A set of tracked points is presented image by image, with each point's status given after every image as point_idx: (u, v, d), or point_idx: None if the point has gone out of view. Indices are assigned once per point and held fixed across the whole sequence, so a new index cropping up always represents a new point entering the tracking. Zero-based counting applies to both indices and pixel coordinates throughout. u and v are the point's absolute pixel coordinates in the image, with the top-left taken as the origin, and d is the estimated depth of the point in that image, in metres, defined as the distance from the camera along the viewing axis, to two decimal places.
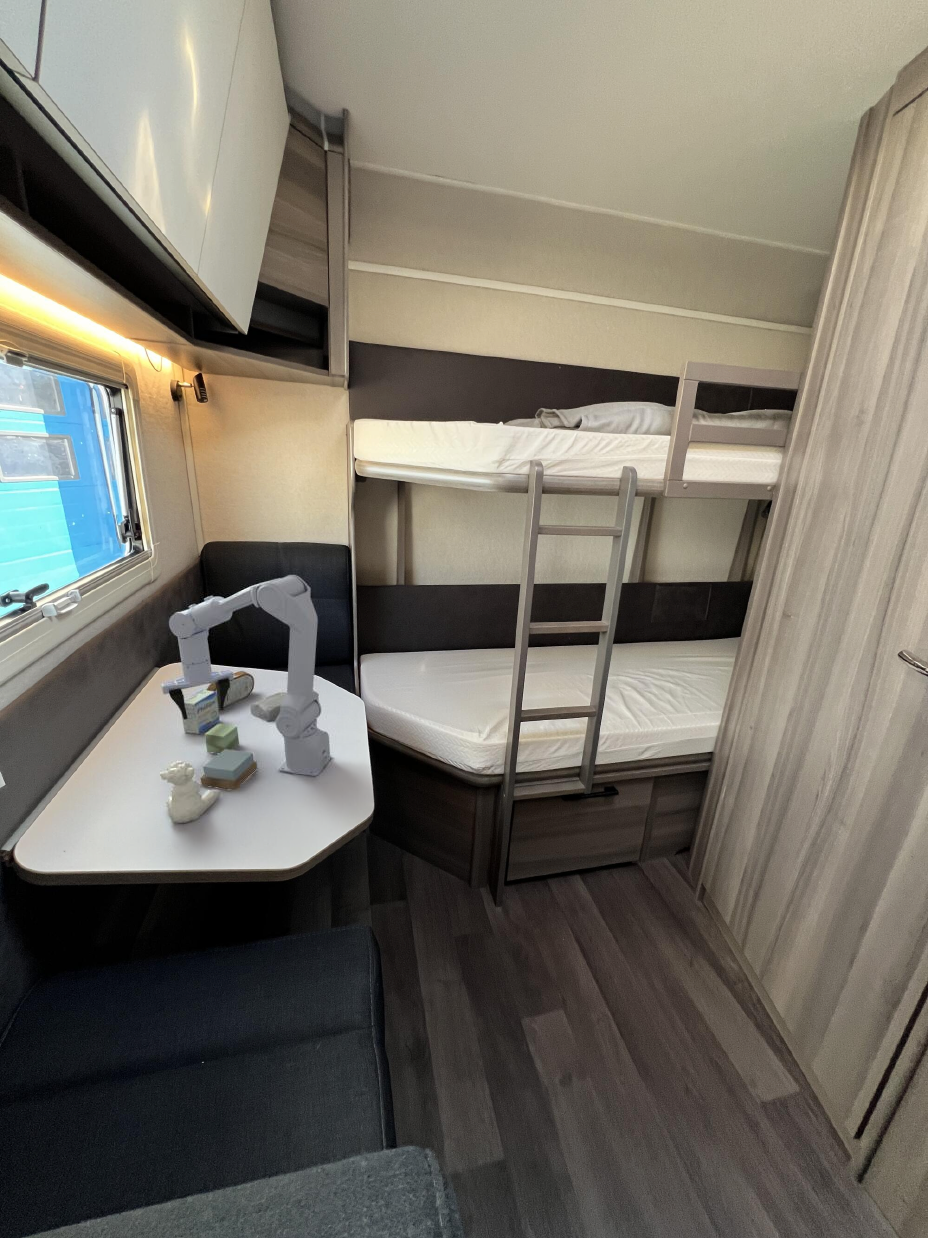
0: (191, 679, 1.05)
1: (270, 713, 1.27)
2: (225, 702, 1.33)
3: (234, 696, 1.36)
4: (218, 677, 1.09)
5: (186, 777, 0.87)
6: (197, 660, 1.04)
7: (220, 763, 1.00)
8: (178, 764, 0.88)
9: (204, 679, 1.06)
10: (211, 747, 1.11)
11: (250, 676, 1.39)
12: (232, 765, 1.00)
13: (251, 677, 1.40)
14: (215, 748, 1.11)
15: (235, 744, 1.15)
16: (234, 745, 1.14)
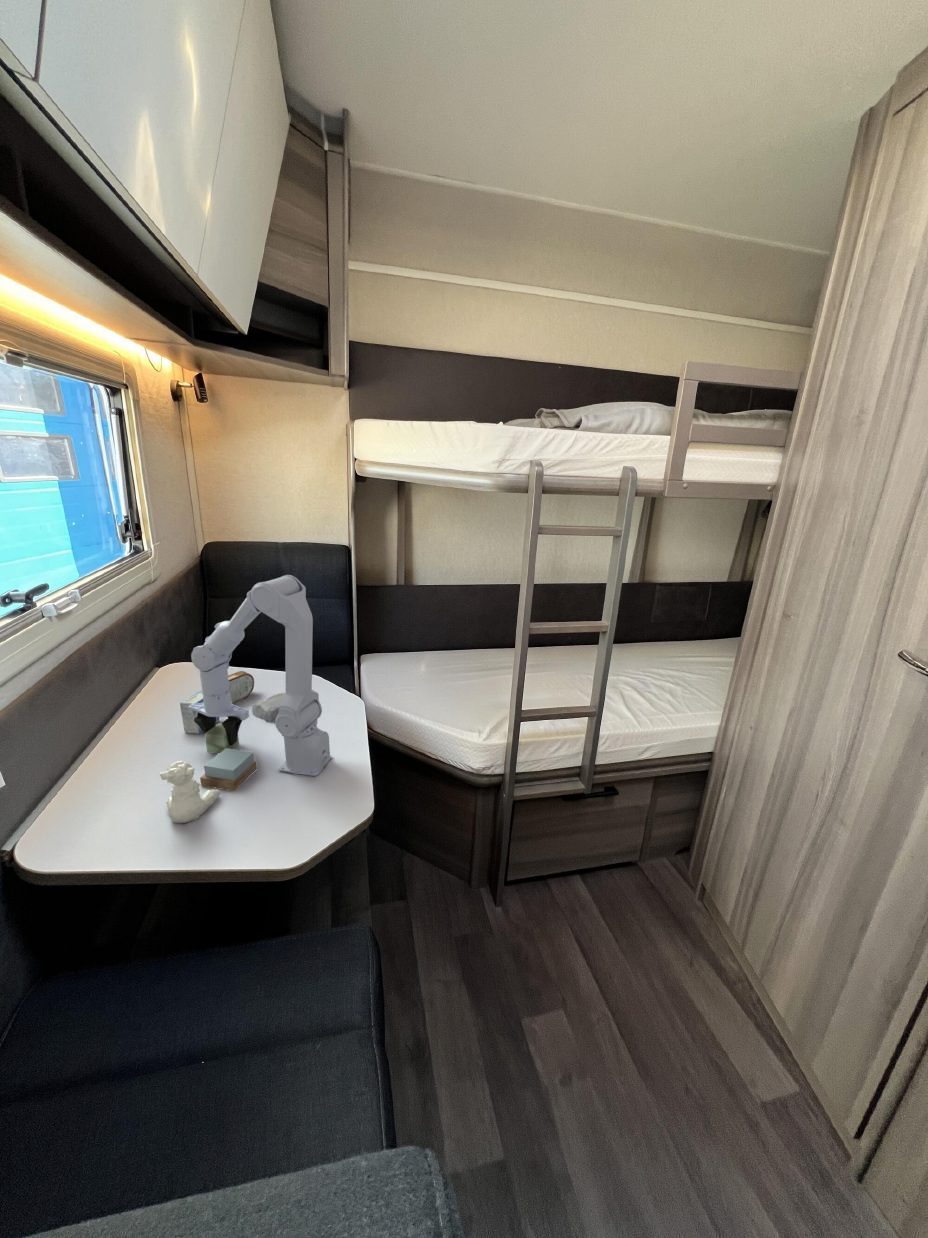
0: (205, 708, 1.09)
1: (272, 713, 1.26)
2: None
3: (234, 696, 1.36)
4: (228, 714, 1.09)
5: (186, 777, 0.87)
6: (217, 692, 1.07)
7: (221, 762, 1.01)
8: (178, 764, 0.88)
9: (213, 712, 1.08)
10: (211, 746, 1.11)
11: (250, 676, 1.39)
12: (233, 764, 1.00)
13: (251, 677, 1.40)
14: (214, 747, 1.11)
15: (235, 744, 1.14)
16: (234, 745, 1.14)
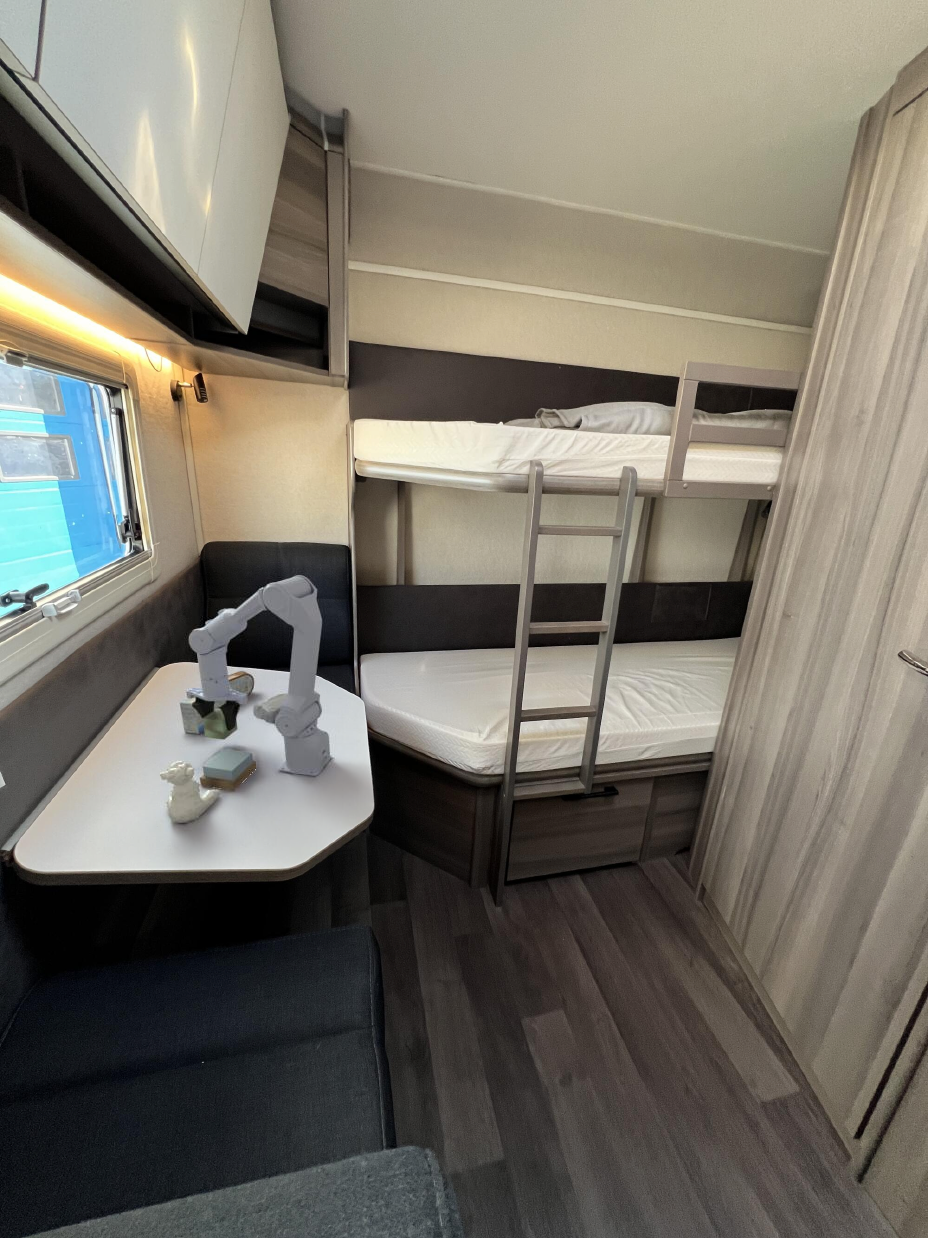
0: (202, 692, 1.08)
1: (273, 714, 1.26)
2: (225, 702, 1.33)
3: None
4: (226, 698, 1.07)
5: (186, 777, 0.87)
6: (215, 676, 1.06)
7: (219, 763, 1.00)
8: (178, 764, 0.88)
9: (211, 696, 1.07)
10: (209, 731, 1.10)
11: (250, 676, 1.39)
12: (232, 765, 1.00)
13: (251, 677, 1.40)
14: (213, 732, 1.10)
15: (233, 729, 1.13)
16: (233, 730, 1.13)
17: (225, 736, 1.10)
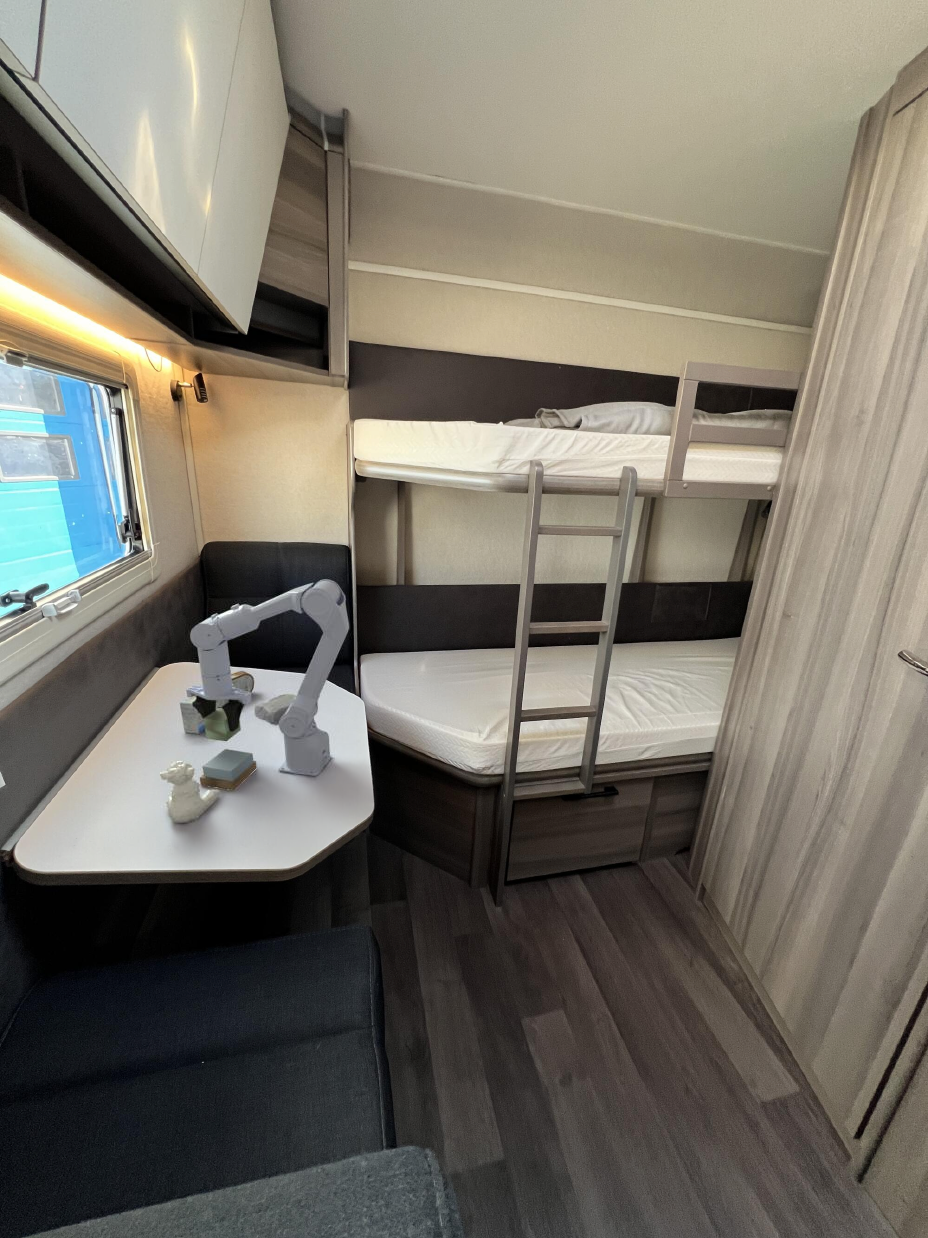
0: (203, 691, 1.00)
1: (275, 715, 1.26)
2: (225, 702, 1.33)
3: None
4: (228, 697, 1.00)
5: (186, 777, 0.87)
6: (221, 672, 0.99)
7: (219, 763, 1.00)
8: (178, 764, 0.88)
9: (212, 695, 1.00)
10: (210, 733, 1.03)
11: (250, 676, 1.39)
12: (231, 765, 1.00)
13: (251, 677, 1.40)
14: (214, 734, 1.03)
15: (236, 730, 1.06)
16: (236, 731, 1.06)
17: (227, 737, 1.03)
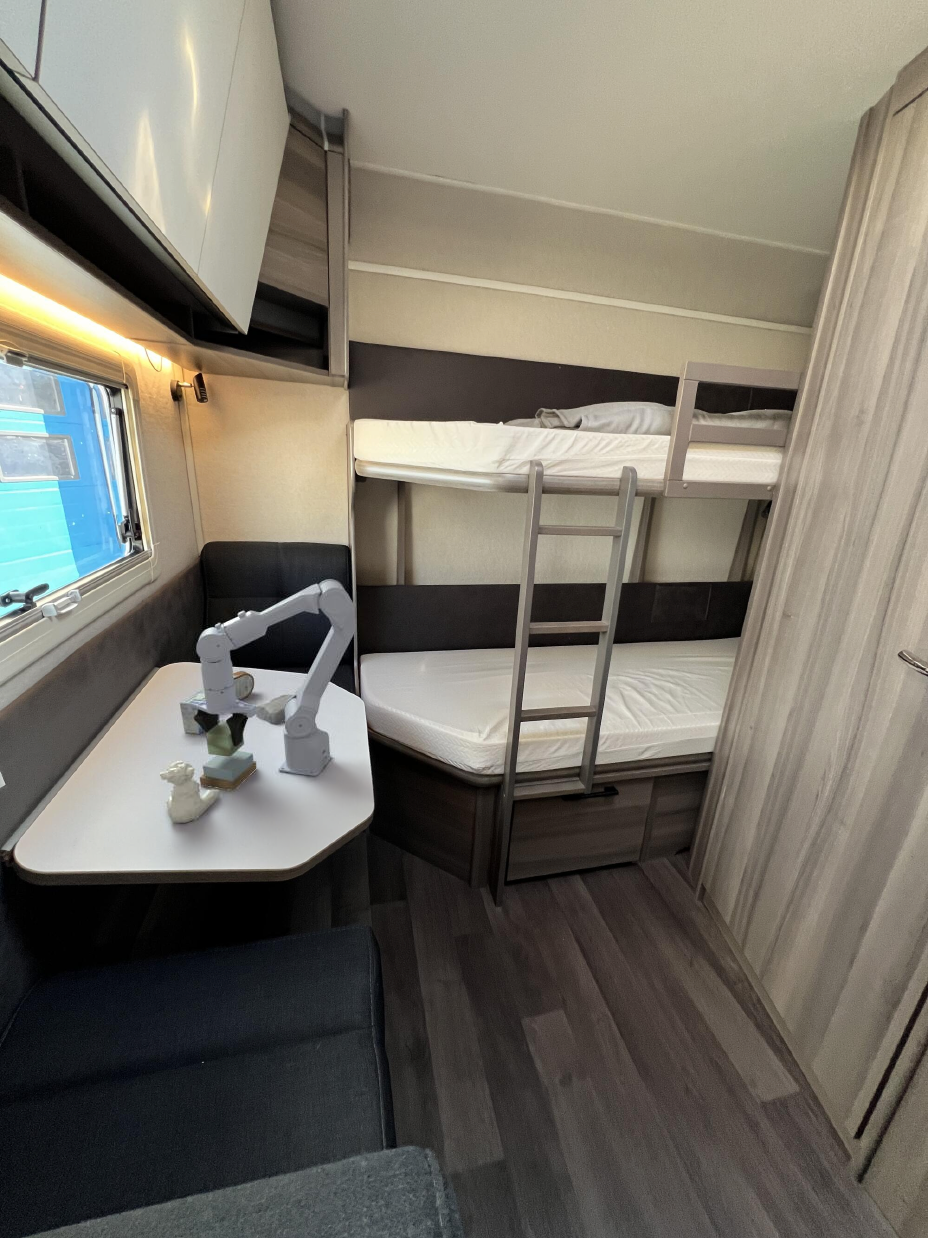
0: (206, 704, 0.96)
1: (276, 715, 1.25)
2: None
3: None
4: (233, 711, 0.96)
5: (186, 777, 0.87)
6: (229, 683, 0.96)
7: (219, 763, 1.00)
8: (178, 764, 0.88)
9: (216, 709, 0.95)
10: (213, 748, 0.98)
11: (250, 676, 1.39)
12: (231, 765, 1.00)
13: (251, 677, 1.40)
14: (217, 749, 0.98)
15: (240, 744, 1.02)
16: (239, 745, 1.01)
17: (231, 753, 0.99)
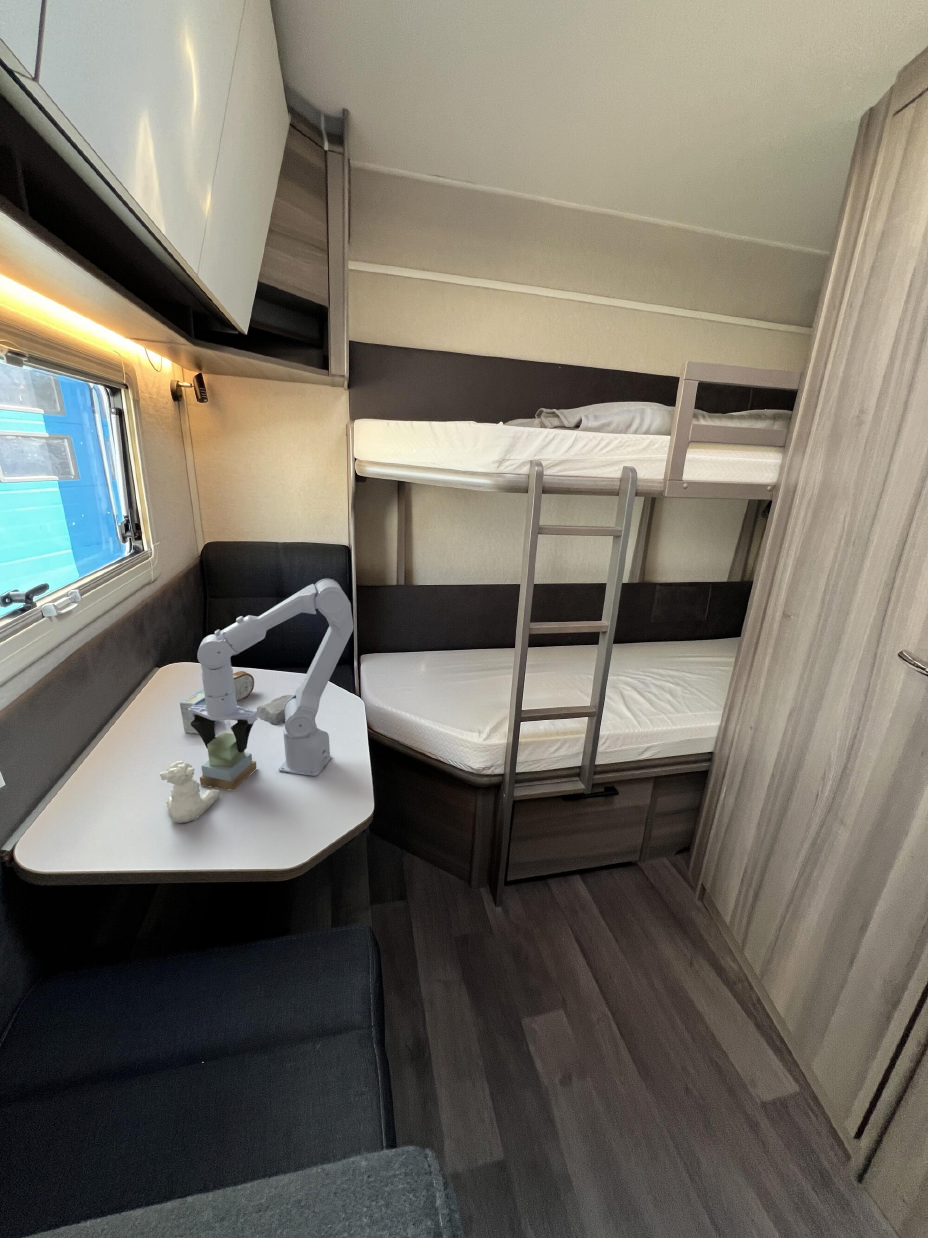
0: (207, 711, 0.96)
1: (277, 716, 1.25)
2: None
3: None
4: (233, 717, 0.96)
5: (186, 777, 0.87)
6: (230, 690, 0.96)
7: None
8: (178, 764, 0.88)
9: (217, 715, 0.96)
10: (214, 759, 0.99)
11: (250, 676, 1.39)
12: None
13: (251, 677, 1.40)
14: (218, 760, 0.99)
15: (241, 755, 1.02)
16: (240, 756, 1.02)
17: (232, 763, 0.99)
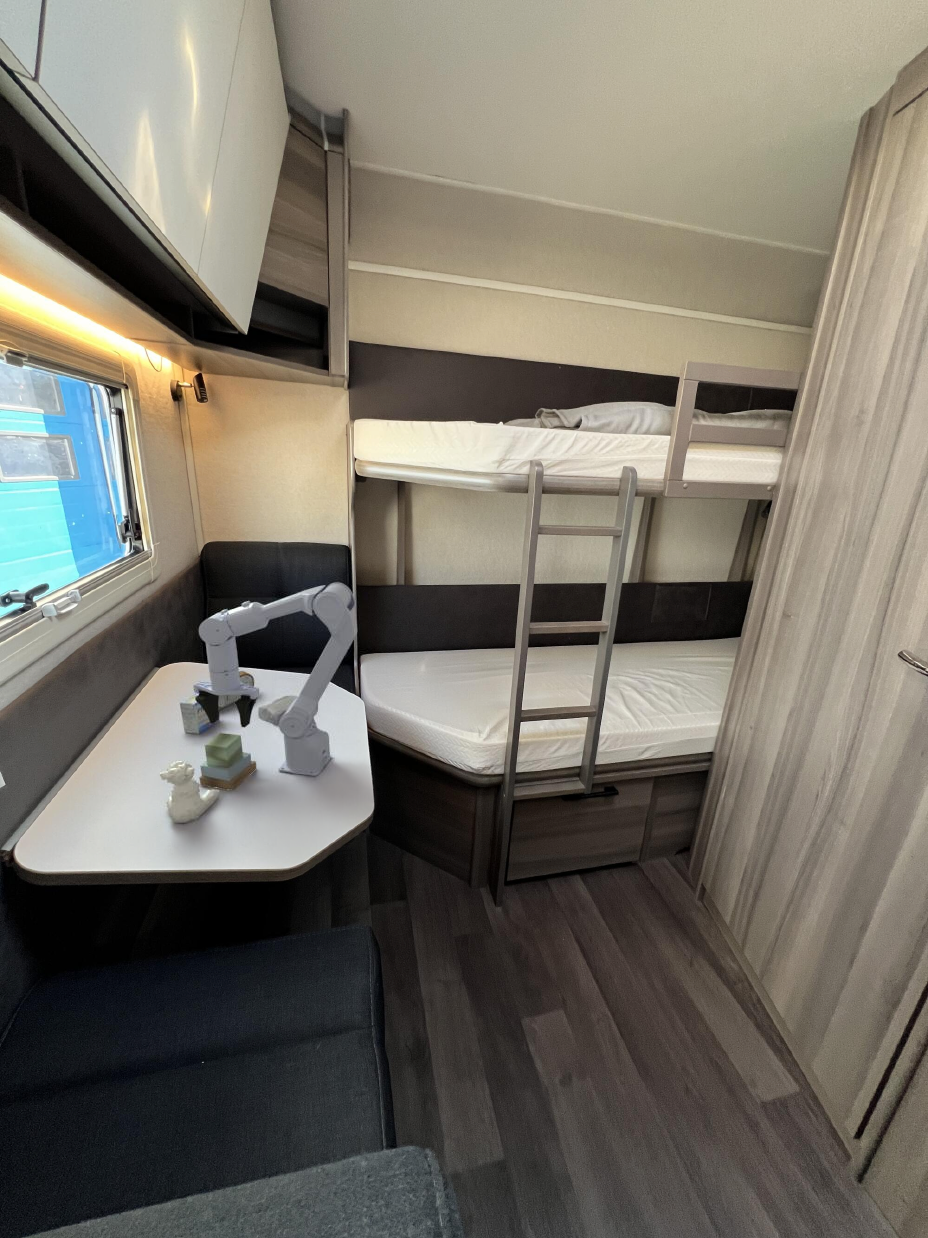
0: (211, 686, 1.00)
1: (279, 716, 1.25)
2: (225, 702, 1.33)
3: (234, 696, 1.36)
4: (237, 692, 1.00)
5: (186, 777, 0.87)
6: (229, 667, 0.99)
7: None
8: (178, 764, 0.88)
9: (221, 690, 1.00)
10: (212, 759, 0.99)
11: (250, 676, 1.39)
12: None
13: (251, 677, 1.40)
14: (216, 760, 0.99)
15: (239, 755, 1.02)
16: (238, 756, 1.02)
17: (230, 764, 0.99)
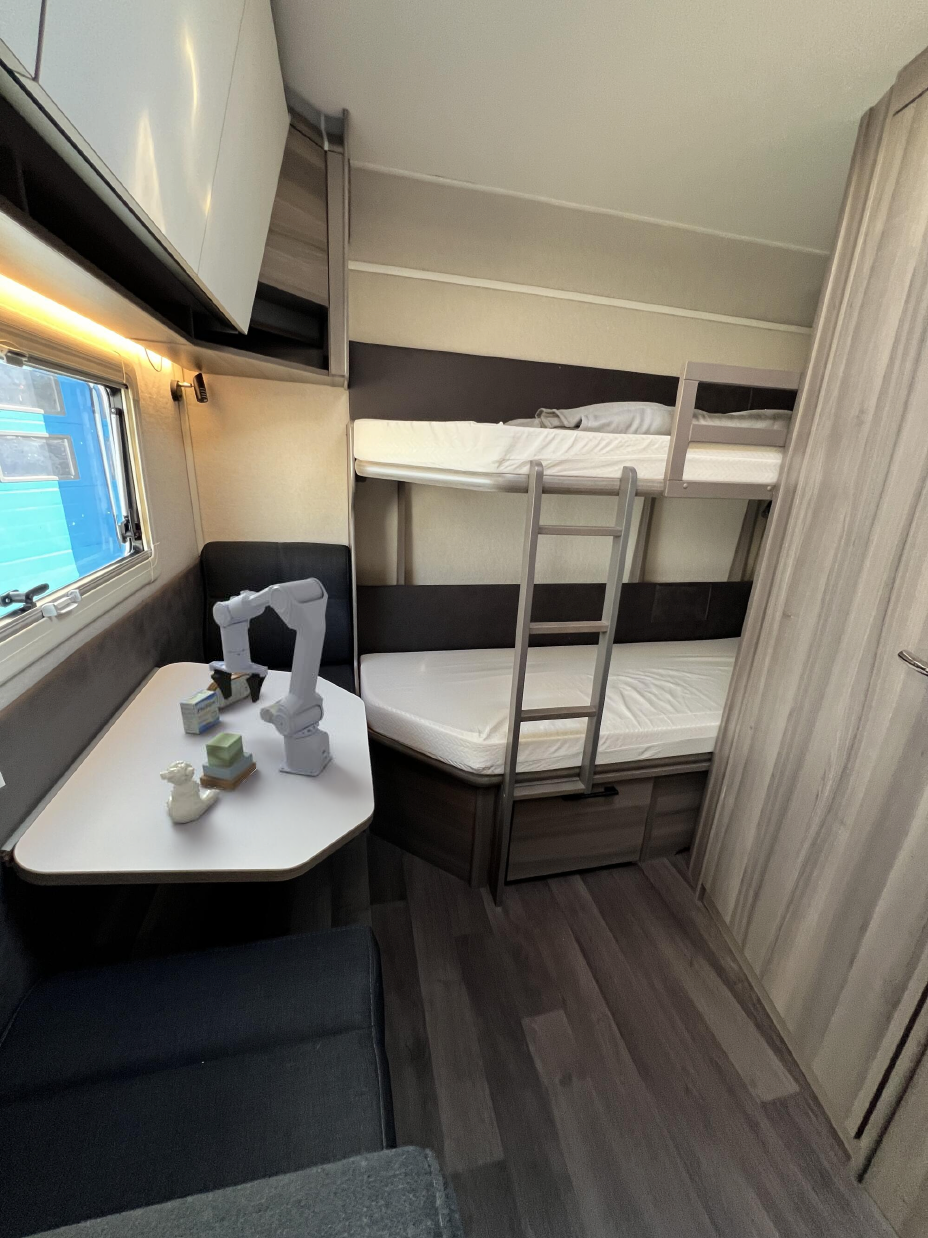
0: (225, 665, 1.12)
1: None
2: (225, 702, 1.33)
3: (234, 696, 1.36)
4: (247, 670, 1.12)
5: (186, 777, 0.87)
6: (234, 649, 1.10)
7: None
8: (178, 764, 0.88)
9: (233, 668, 1.11)
10: (212, 758, 0.99)
11: None
12: None
13: None
14: (217, 760, 0.99)
15: (239, 755, 1.02)
16: (239, 756, 1.02)
17: (230, 763, 1.00)
